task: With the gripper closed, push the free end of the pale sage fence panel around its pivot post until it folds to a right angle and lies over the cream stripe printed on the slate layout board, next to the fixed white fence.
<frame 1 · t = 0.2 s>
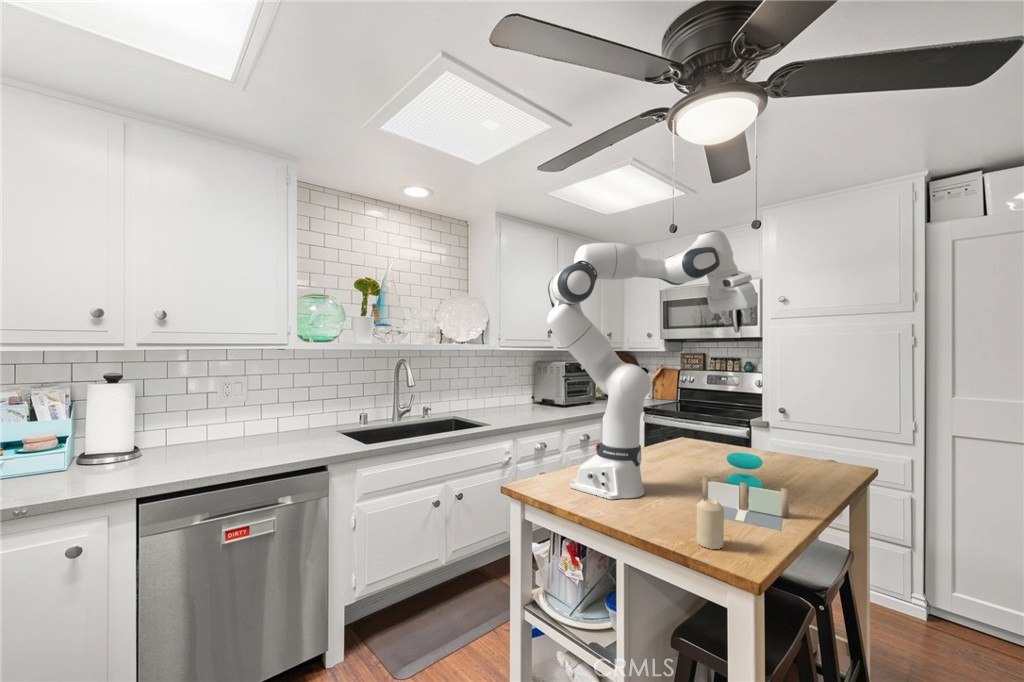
hand: (737, 323, 138), 52 cm above the counter, tool tilted 20°, fingers open, 8 cm apart
candle: (709, 545, 99), on the counter
donuts: (744, 487, 139), on the counter
layout board: (740, 511, 118), on the counter
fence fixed: (743, 509, 119), resting on layout board
fence panel: (768, 499, 116), point 4 cm above the counter, hinge at 0.0°
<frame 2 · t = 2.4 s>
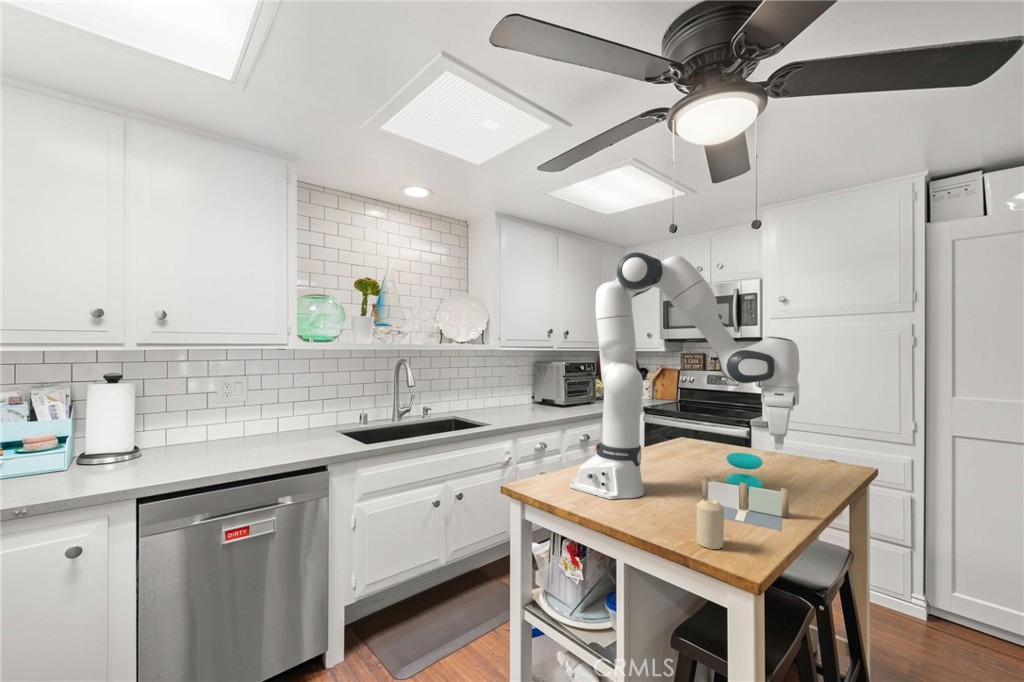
hand: (779, 447, 119), 17 cm above the counter, tool pointing down, fingers open, 3 cm apart
nothing on the counter moved.
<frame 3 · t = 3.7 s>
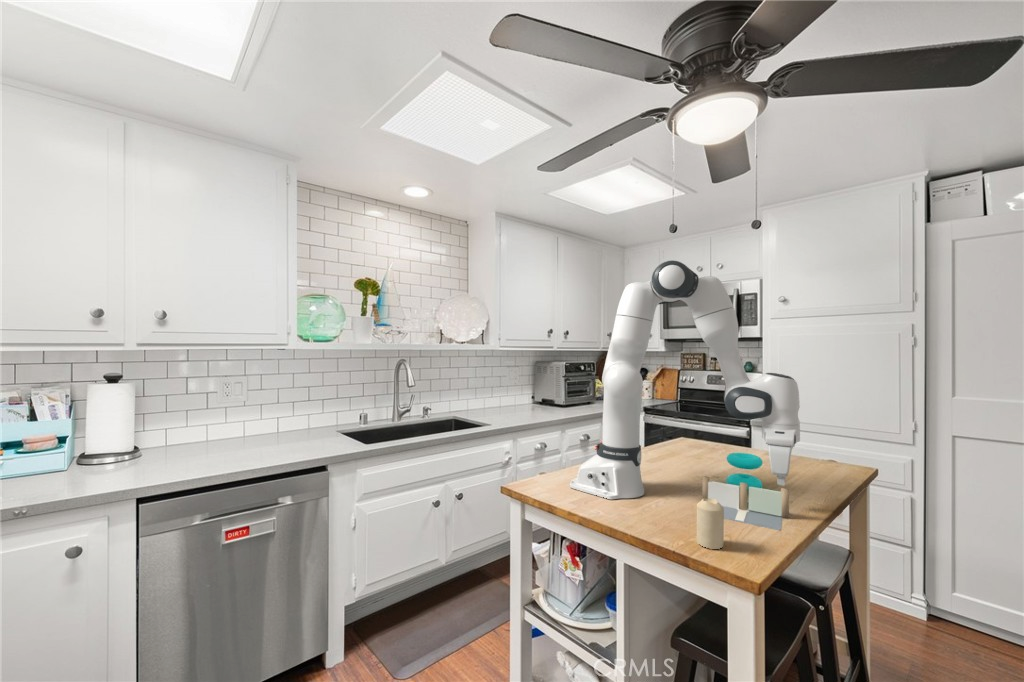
hand: (781, 484, 119), 7 cm above the counter, tool pointing down, fingers closed
nothing on the counter moved.
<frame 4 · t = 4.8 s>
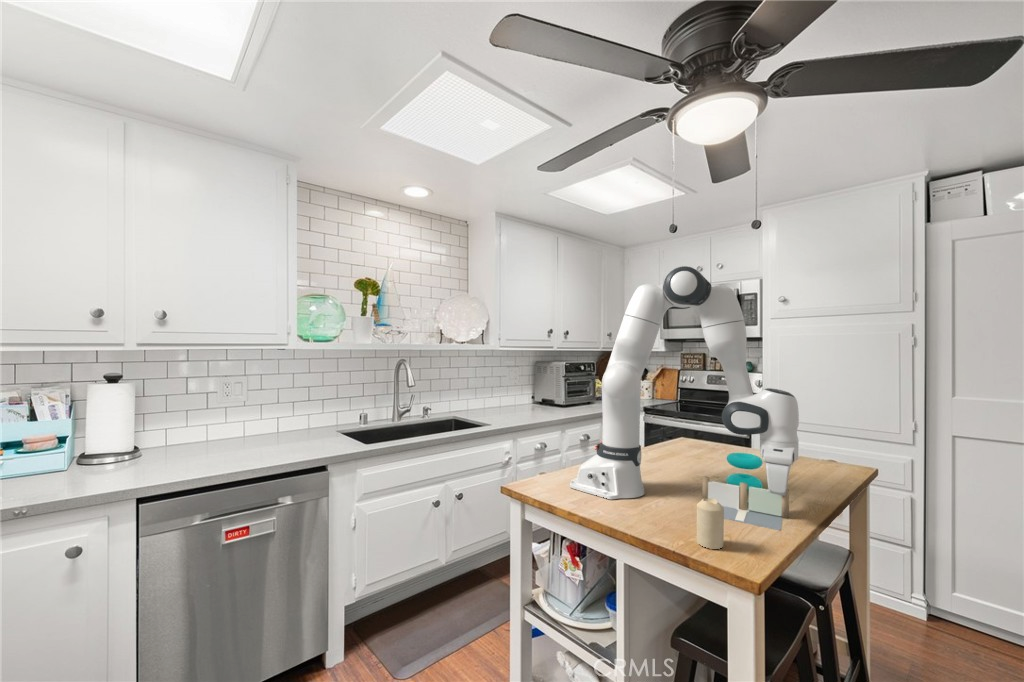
hand: (778, 502, 117), 3 cm above the counter, tool pointing down, fingers closed
fence panel: (768, 499, 116), point 4 cm above the counter, hinge at 0.0°, touching gripper
everything else where it was.
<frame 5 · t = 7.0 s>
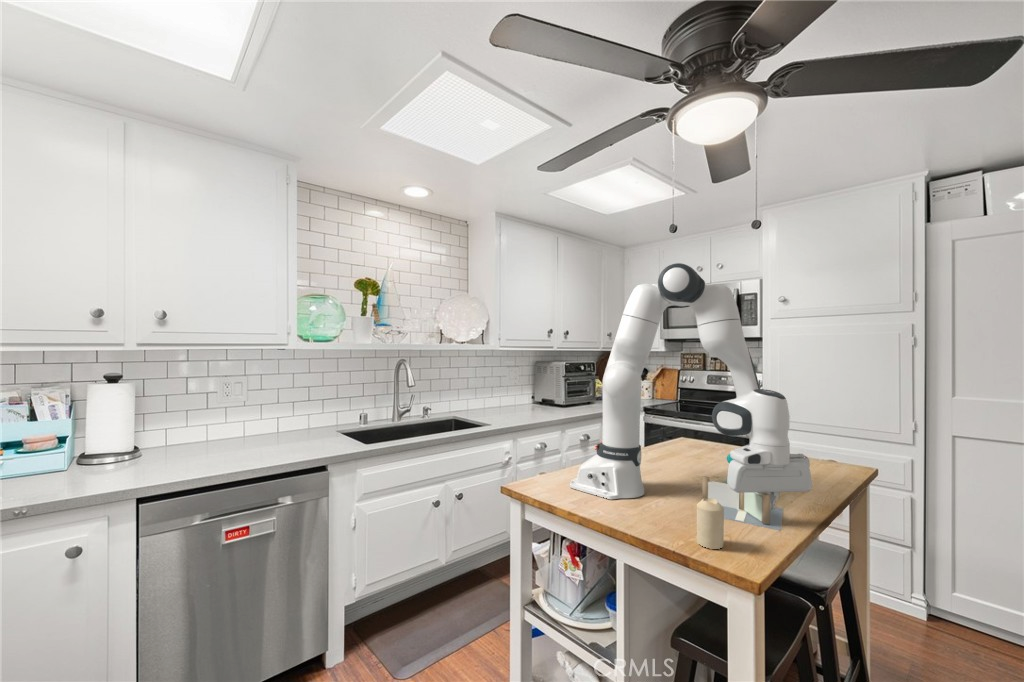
hand: (769, 508, 112), 3 cm above the counter, tool pointing down, fingers closed
fence panel: (756, 503, 113), point 4 cm above the counter, hinge at -53.1°, touching gripper
everything else where it was.
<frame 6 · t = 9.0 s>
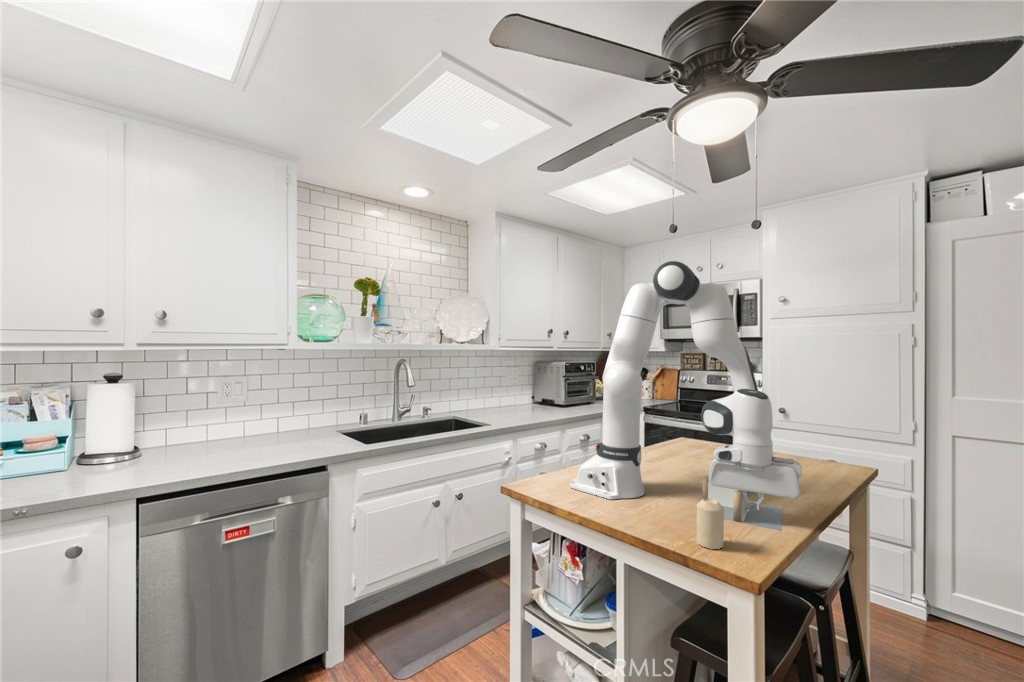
hand: (752, 508, 111), 3 cm above the counter, tool pointing down, fingers closed
fence panel: (739, 501, 114), point 4 cm above the counter, hinge at -92.7°, touching gripper
everything else where it was.
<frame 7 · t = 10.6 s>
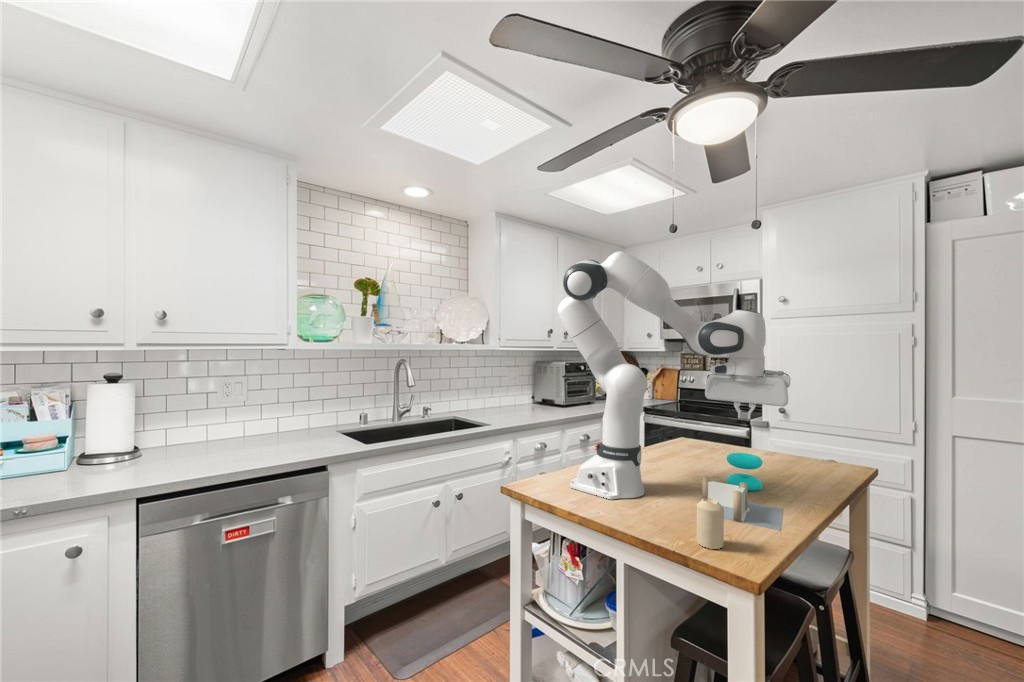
hand: (744, 419, 121), 24 cm above the counter, tool pointing down, fingers closed
fence panel: (739, 501, 114), point 4 cm above the counter, hinge at -92.7°
everything else where it was.
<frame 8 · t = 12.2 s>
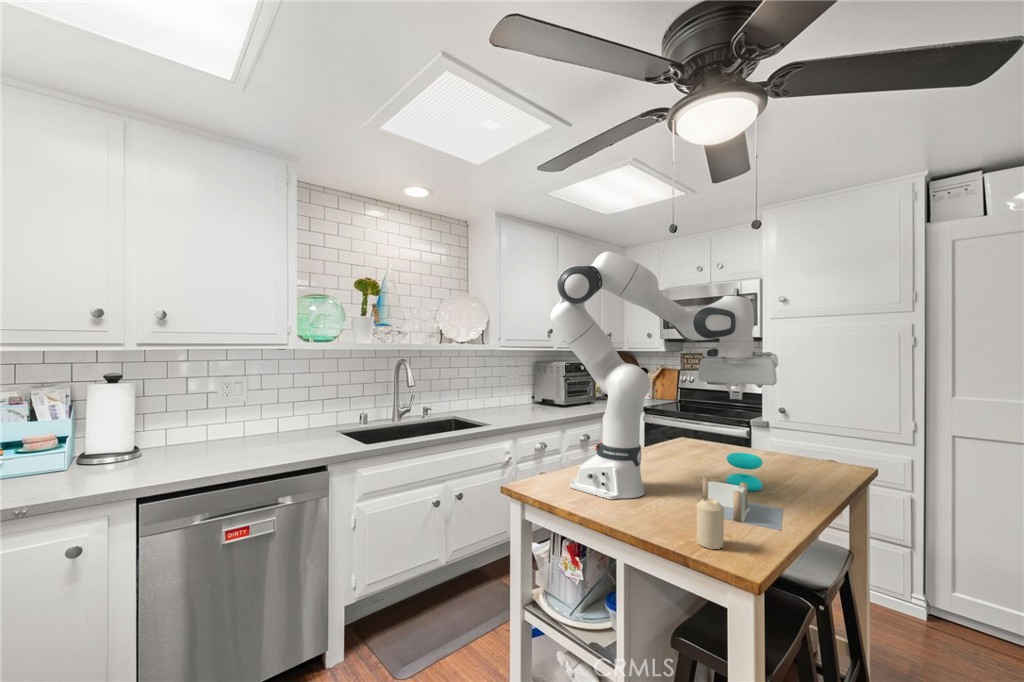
hand: (735, 399, 128), 29 cm above the counter, tool pointing down, fingers closed
nothing on the counter moved.
at the end: fence panel at -93° (first picture: +0°) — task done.
